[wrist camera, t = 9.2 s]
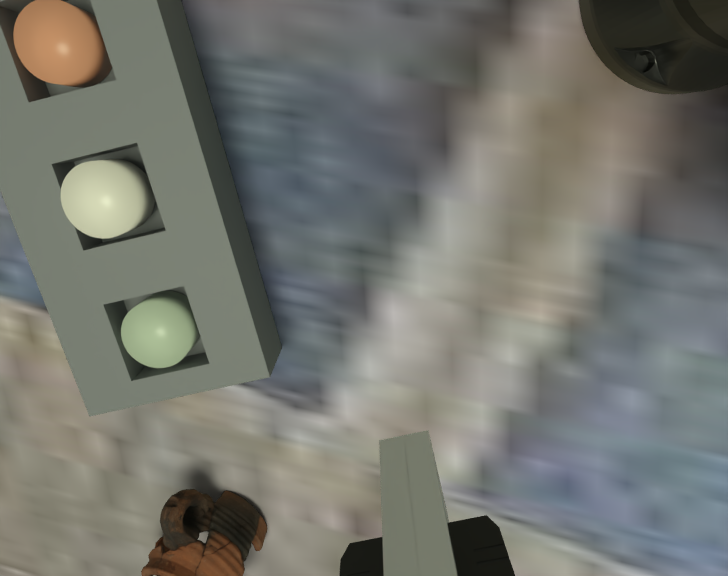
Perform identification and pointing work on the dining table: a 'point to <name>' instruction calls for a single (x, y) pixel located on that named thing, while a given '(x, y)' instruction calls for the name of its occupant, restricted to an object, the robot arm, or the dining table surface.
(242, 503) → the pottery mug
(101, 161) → the cream button
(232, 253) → the button console
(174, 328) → the sage button
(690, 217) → the dining table surface
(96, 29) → the terracotta button
